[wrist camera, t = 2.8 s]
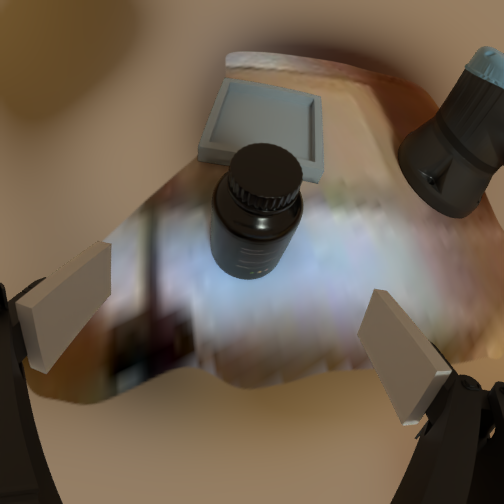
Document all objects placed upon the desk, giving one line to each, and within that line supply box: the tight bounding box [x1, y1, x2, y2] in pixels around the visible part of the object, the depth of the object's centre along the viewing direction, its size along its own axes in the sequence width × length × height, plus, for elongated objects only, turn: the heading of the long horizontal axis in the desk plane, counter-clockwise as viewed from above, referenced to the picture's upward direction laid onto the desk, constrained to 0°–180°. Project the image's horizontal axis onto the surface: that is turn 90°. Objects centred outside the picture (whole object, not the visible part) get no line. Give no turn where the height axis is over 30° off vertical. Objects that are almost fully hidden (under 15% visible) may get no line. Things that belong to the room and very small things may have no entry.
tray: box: [198, 78, 324, 184], centre depth 36 cm, size 14×15×2 cm
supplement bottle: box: [211, 143, 303, 280], centre depth 24 cm, size 7×7×12 cm
